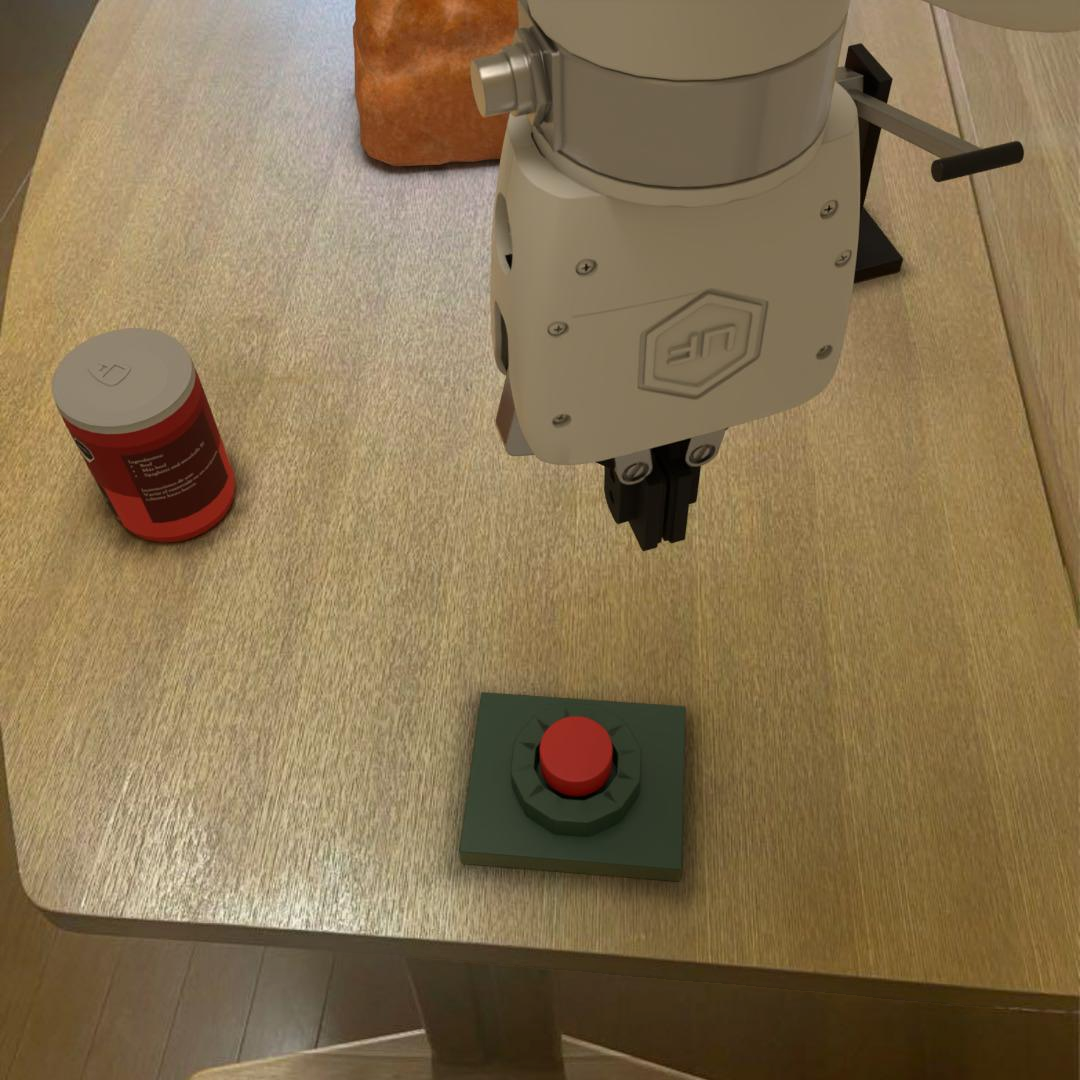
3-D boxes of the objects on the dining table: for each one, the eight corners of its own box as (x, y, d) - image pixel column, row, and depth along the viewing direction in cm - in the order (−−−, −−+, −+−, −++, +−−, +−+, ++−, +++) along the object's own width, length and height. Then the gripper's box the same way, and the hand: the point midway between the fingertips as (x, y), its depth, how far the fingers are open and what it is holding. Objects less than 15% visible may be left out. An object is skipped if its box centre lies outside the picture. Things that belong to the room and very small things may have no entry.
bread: (359, 81, 101) (327, -106, 89) (666, 52, 103) (677, -136, 90) (363, 182, 93) (329, -8, 81) (696, 150, 94) (713, -42, 82)
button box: (683, 720, 65) (688, 689, 62) (679, 881, 59) (684, 855, 57) (483, 706, 66) (478, 675, 63) (461, 864, 60) (455, 837, 57)
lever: (1021, 176, 66) (1026, 132, 65) (941, 196, 65) (944, 152, 64) (860, 98, 80) (862, 61, 79) (792, 113, 79) (792, 77, 78)
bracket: (900, 271, 85) (947, 100, 74) (785, 300, 84) (815, 130, 73) (831, 181, 92) (866, 10, 80) (723, 206, 90) (743, 37, 79)
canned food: (141, 443, 78) (84, 318, 69) (256, 460, 77) (214, 335, 68) (92, 536, 73) (24, 415, 64) (213, 555, 72) (162, 435, 63)
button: (614, 734, 61) (614, 718, 59) (609, 799, 59) (610, 784, 57) (543, 729, 61) (542, 713, 60) (537, 794, 59) (536, 779, 58)
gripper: (425, 224, 26) (483, 656, 41) (1033, 84, 28) (879, 540, 43) (351, 44, 30) (427, 494, 45) (884, -65, 33) (790, 397, 47)
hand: (648, 516), depth 44 cm, fingers closed
